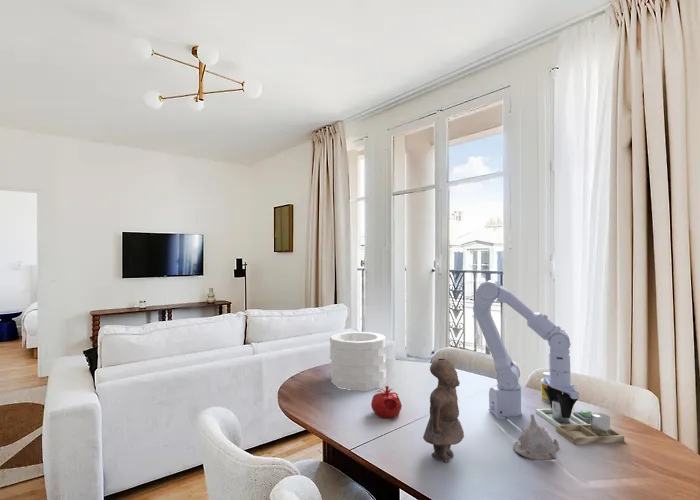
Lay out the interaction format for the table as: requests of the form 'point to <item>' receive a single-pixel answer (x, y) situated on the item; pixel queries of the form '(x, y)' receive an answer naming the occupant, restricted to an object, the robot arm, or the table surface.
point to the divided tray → (587, 434)
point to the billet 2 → (600, 424)
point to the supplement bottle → (543, 393)
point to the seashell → (536, 442)
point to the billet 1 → (557, 412)
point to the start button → (585, 413)
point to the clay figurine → (444, 411)
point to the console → (578, 415)
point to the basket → (358, 360)
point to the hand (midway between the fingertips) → (560, 414)
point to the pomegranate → (386, 404)
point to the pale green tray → (542, 413)
